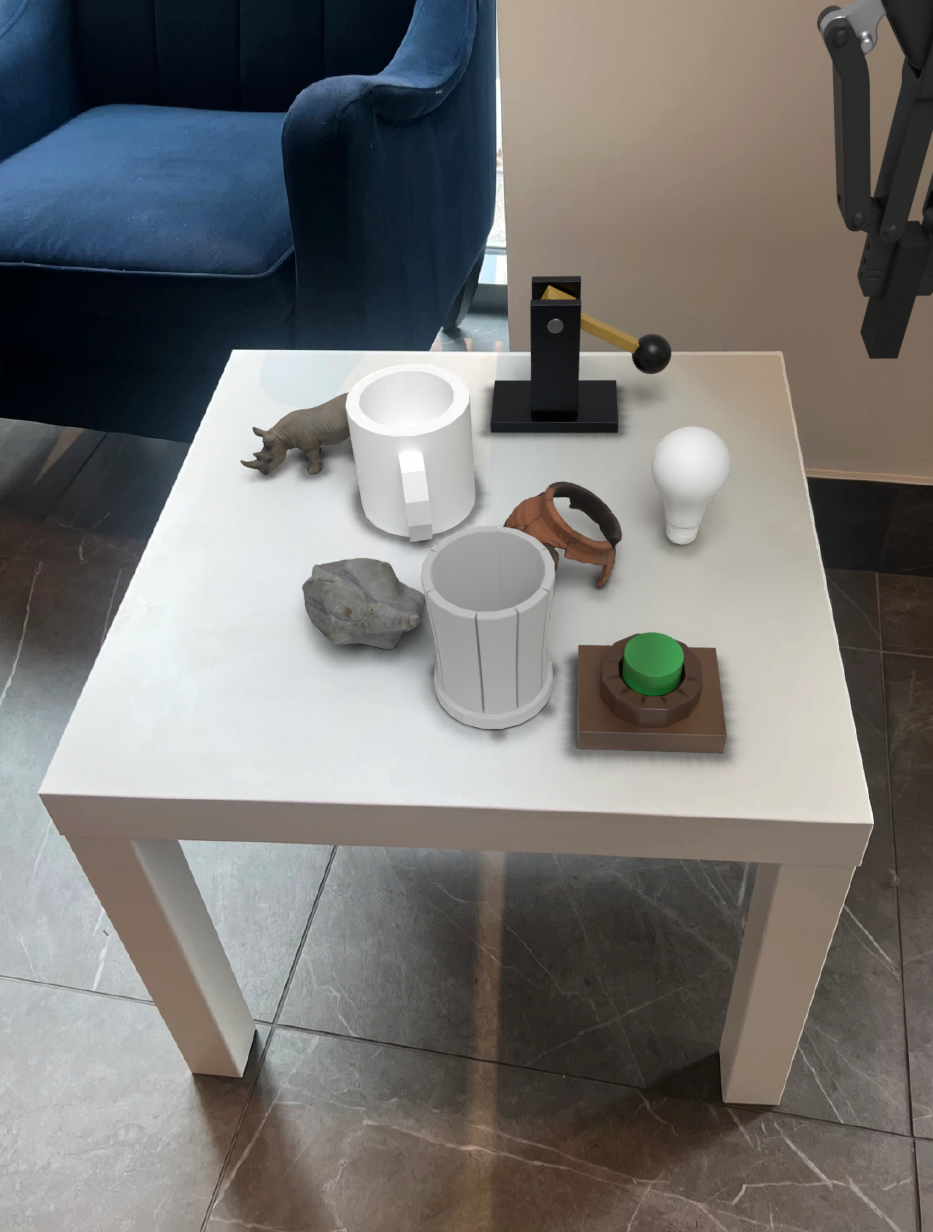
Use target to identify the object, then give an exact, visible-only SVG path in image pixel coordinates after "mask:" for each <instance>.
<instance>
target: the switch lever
mask: <svg viewBox="0 0 933 1232" xmlns="http://www.w3.org/2000/svg"><path fill="white" fill-rule="evenodd" d="M542 299H576V298H574V297H572V296H570V295H568V294H566V293H564V292H562V291H560V290H558V289H556V288H554V287H551V286H548V287H547V289H546V291H545V292H544V294H543V296H542V298H541V299H540V300H542ZM580 330H582V331H584V332H586V333H588V334H590V335H593V336H594V337H597V338H598V339H602V341H605V342H607V343H610V344H611V345H614V346H615V347H618V348H619V349H621V350H624V351H626V352H628V353H630V354H631V361H632V363H633V365H634V367H635V368H636V369H637V370H638V371H639V372H641V373H642V374H646V375H657V374H658V373H661V372H662V371H664V370H665V369H666V368H667V367H668V366H669V364H670V361H671V360H672V347H671V344H670V342H669V341H668V340H667V339H666V338H665V337H664V336H663V335H660V334H657V333H648V334H644V335H643V336H641V337H639V338H637V337H634V336H632V335H631V334H628V333H626V332H624V331H622V330H619V329H618V328H616V327H614V326H612V325H609V324H607V323H605V322H603V321H600V320H598V319H597V318H595V317H593V316H591V315H588V314H587V313H584V312H582V311H581V329H580Z"/></svg>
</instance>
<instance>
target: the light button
mask: <svg viewBox="0 0 933 1232" xmlns="http://www.w3.org/2000/svg"><path fill="white" fill-rule="evenodd" d="M674 639H675V638H673V637H672V636H669V635H667V634H664V633H662V632H656V631H655V632H654V631H651V632H650V631H649V632H642V633H640V634H639V635H637V636H635V637H633V638H632V639H631V640H630V641H629V642H628V643H627V645H626V647H625V650H624V660H623V671H622V673H623V678H624V680H625V682H626V684H627V685H628V686H629V687H630V688H631V689H633V690H634V691H636V692H638V693H640V694H643V695H647V696H660V695H664V694H667V693H669V692H671V691H672V690H674V689H675V688H676V686H677V685H678V683H679V681H680V677H681V671H682V664H683V658H684V655H683V651H682V648H681V646H680V645H679V644H678V643H677V642H676V641H675V640H676V639H675V640H674Z"/></svg>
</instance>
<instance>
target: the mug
mask: <svg viewBox="0 0 933 1232" xmlns="http://www.w3.org/2000/svg"><path fill="white" fill-rule="evenodd" d="M347 393H348V392H347ZM471 410H472V409H471V393H470V389H469V387H468V386H467V383H466V382H465V380H464V379H463V378H462V377H460V376H459V375H457V374H456V373H455V372H454V371H452V370H449V369H446V368H444V367H441V366H438V365H432V364H426V363H425V364H424V363H403V364H397V365H396V364H395V365H393V366H392V365H391V366H388V367H383V368H381V369H378V370H376V371H374V372H371V373H369V374H367V375H366V376H364V377H362V379H360V380H359V381H357V382H356V383H355V384H353V386H352V388H351V389H350V391H349V393H348V395H347V400H346V412H347V418H348V424H349V430H350V436H349V437H350V442H351V448H352V453H353V460H354V465H355V473H356V477H357V478H356V479H357V484H358V489H359V495H360V501H361V507H362V510H363V512H364V515H365V517H366V519H367V520H369V522H370V523H371V524H372V525H373V526H374V527H376V528H377V529H379V530H382V531H384V532H385V533H387V534H389V535H395V536H400V537H405V538H409V542H410V543H413V542H421V541H427V540H434V535H437V534H442V533H444V532H447V531H448V530H450V529H452V528H454V527H457V526H459V525H460V524H461V523H462V522H463V521H464V520H465V519H466V518H467V517H468V516H470V514H471V512H472V510H473V508H474V507H475V505H476V478H475V461H474V459H475V458H474V443H473V428H472V427H473V426H472V425H473V424H472V411H471Z"/></svg>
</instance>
